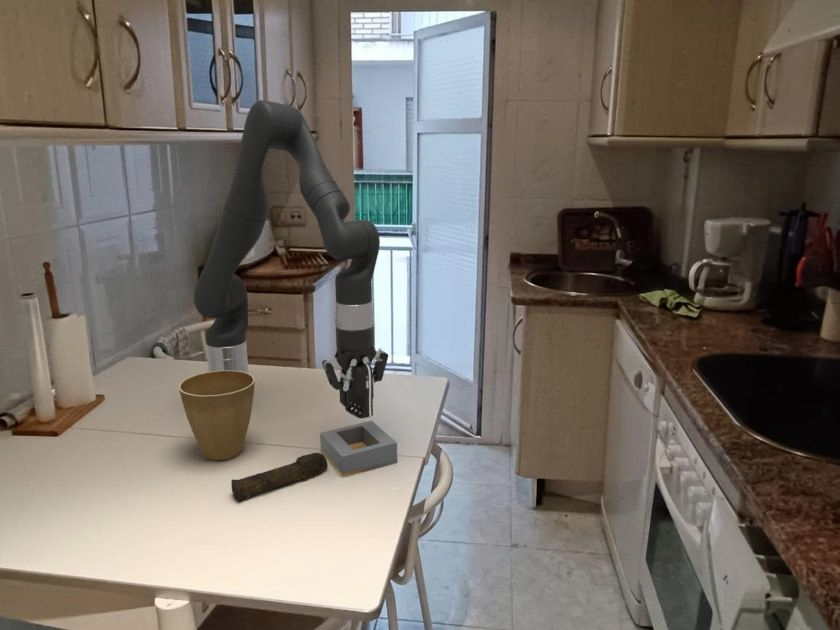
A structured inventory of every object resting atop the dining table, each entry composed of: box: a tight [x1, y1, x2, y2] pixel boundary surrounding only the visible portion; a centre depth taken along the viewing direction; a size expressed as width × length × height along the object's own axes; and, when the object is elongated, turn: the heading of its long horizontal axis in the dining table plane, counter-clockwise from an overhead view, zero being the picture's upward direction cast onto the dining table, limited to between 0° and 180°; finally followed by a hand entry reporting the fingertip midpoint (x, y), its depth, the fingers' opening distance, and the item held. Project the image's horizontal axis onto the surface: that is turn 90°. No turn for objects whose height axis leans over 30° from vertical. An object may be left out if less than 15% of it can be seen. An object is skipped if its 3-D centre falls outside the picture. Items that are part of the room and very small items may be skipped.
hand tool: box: [230, 452, 328, 503], centre depth 121 cm, size 19×4×5 cm, turn 122°
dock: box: [319, 420, 398, 478], centre depth 131 cm, size 12×12×4 cm
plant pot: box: [178, 370, 256, 461], centre depth 132 cm, size 15×15×16 cm
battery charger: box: [344, 363, 374, 419], centre depth 128 cm, size 7×4×11 cm, turn 40°
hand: (357, 403), depth 129 cm, fingers closed on battery charger, 4 cm apart
